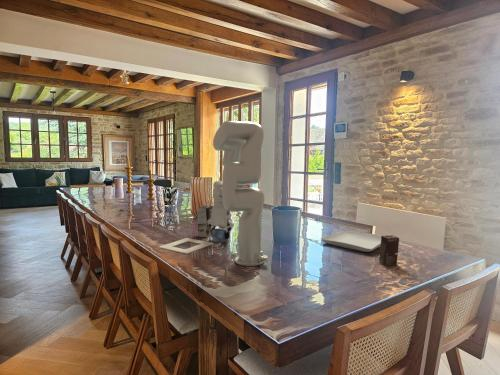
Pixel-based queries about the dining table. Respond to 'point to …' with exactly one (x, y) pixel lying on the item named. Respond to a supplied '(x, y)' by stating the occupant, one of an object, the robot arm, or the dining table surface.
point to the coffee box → (204, 221)
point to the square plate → (354, 240)
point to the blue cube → (219, 235)
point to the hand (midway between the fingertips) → (220, 237)
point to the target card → (189, 250)
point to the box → (389, 250)
